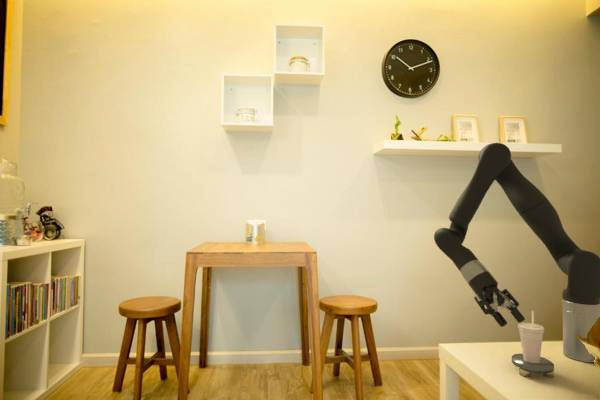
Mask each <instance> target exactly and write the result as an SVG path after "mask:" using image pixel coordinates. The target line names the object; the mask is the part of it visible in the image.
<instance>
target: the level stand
mask: <svg viewBox="0 0 600 400" xmlns="http://www.w3.org/2000/svg"><path fill="white" fill-rule="evenodd" d="M511 363H512V364H513V365H514V366H515V367H517V368H519V369H518V371H519V373H518V374H519V375H520V376H521V377H524V378H531V373H535V374H542V376H543V377H545V378H549V379H554V378H555V364H554V362H553V361H551V360H549V359H547V358H545V357H542V356H540V361H539V363H530V362H527V361H525V360H524V358H523V353H515V354H513V355H511Z"/></svg>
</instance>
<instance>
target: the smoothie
mask: <svg viewBox="0 0 600 400" xmlns="http://www.w3.org/2000/svg"><path fill="white" fill-rule="evenodd" d="M517 329H518V331H519V337H520V343H521V349H522V354H523V358H524V360H525V361H527V362H530V363H539V361H540V357H541V351H542V343H543V337H544V336H543V335H544V333H545V327H544V326H542V325H541V324H540V325H539V324H538V323H535V311H534V310H531V322H521V323H519V322H517Z"/></svg>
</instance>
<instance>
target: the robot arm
mask: <svg viewBox="0 0 600 400" xmlns="http://www.w3.org/2000/svg"><path fill="white" fill-rule="evenodd" d="M494 182H496V183H498V185H499V186H500V188H502V190H503V192H504V194H505V195H506V197H507V199H508V200H509V202H510V203H511V205H512V206H513V208H514V209H515V210H516V212H517V214H518V215H519V216H520V217H521V218H522V220H523V221H524V222H525V224H526V225H527V226H528V227H529V228H530V230H532V232H533V233H534V234H535V235H536V237H537V238H538V239H539V240H540V241H541V242H542V243H543V245H545V248H546V249H547V250H548V252H549V254H550V255H551V256H552V259H553V260H554V262H555V263H556V265H557V267H559V270H560V271H561V272H562V273H564V274H565V275H566V276H567V286H566V288H564V289H563V290H562V291H561V293H562V295H561V298H562V305H561V306H562V354H563V355H564V356H565V357H568V358H569V359H573V360H576V361H578V362H583V363H591V362H592V363H593V361H594V360H595V357H594V356H593V355H592V354H590V353H589V352H588V350H587V349H586V347H585V345H584V344H583V343H582V342H581V341H580V340H579V339H578V338H577V335H579V336H581V337H582V338H585V339H586V338H587V334H588V332H589V331H590V329H591V328H592V326H593V325H594V324H595V322H596V321H597V319H598V318H599V317H600V256H599V255H597V254H596V253H594V252H592V251H588V250H584V249H581V248H580V247H579V246H578V244H577V243H575V242H574V241H573V240H572V239H571V237H570V236H569V235H568V234H567V232H566V230H565V229H564V227H563V224H562V221H561V219H560V216H559V214H558V211H557V210H556V208H555V207H554V205H553V204H552V203H551V201H550V200H549V199H548V197H546V195H545V194H544V193H543V192H542V191H541V190H540V189H539V188H538V187H537V186H536V185H535V184H533V183H532V182H531V181H530V180H529V179H527V177H525V175H524V174H522V172H521V171H520V169H518V167H517V166H516V164H515V163H514V162H513V160H512V151H511V150H510V147H508V146H507V145H506V144H504V143H501V142H492V143H489V144H486V145H485V146H484V147H482V148H481V150H480V151H479V154H478V162H477V166H476V168H475V171H474V173H473V175H472V177H471V179H470V181H469V182H468V184H467V185H466V187H465V189H464V190H463V191H462V192H461V194H460V195H459V198H458V199H457V201H456V202H455V204H454V206H453V208H452V210H451V212H450V213H449V215H448V218H449V219H448V220H449V221H450V222H451V223H450V225H449V228H447V227H440V228H438V229H436V231H435V232H434V234H433V239H434V243H435V245H436V246H437V247H438V249H439V250H440V251H441V252H442V253H444V255H446V257H447V258H449V259H450V260H451V261H452V263H453V264H454V265H455V267H456V268H457V269H458V271H459V272H460V274H461V276H462V277H463V279H464V280H465V282H466V283H467V285H468V286H469V287H470V289H472V291H473V292H474V294H475V296H474V297H473V299H474V300H475V302H476V304H477V305H478V306H479V307H480V309H481V311H482V312H483V313H484V315H485V316H486V315H490V317H493V318H494V320H495V322H497V324H498V325H499V327H501V328H503V327H505V326H506V325H508V321H507V320H506V319H505V317H504V316H503V315H502V314H501V313H500V311H499V310H498V307H500V308H501V309H506V310H508V311H509V312H510V314H511V316H513V318H514V319H515V321H516V322H517V323H524V321H525V320H526V318H525V316H524V315H523V314H522V313H521V311H520V310H519V309H518V307H519V306H520V302H519V301H517V299H516V298H515V297H514V296H513V294H512V293H510V291H509V290H508V289H507V288H504V289H503V290H500V289H499V288H498V281H497V279H496V278H495V277H494V276H493V275H492V273H491V272H490V271H489V270H488V269H487V267H486V266H485V265H484V264H483V263H482V262H481V261H480V260H479V258H477V256H476V255H475V254H474V252H473V251H472V250H471V249H470V248H468V247H466V246H464V245H463V243H464V241H465V239H466V236H467V232H468V231H469V224H470V223H471V222H472V220H473V218H474V217H475V214H476V213H477V212H478V209H479V207H480V206H481V204H482V202H483V200H484V198H485V196H486V194H487V192H488V191H489V189H490V188H491V186H492V185H493V183H494ZM485 307H486V308H485Z"/></svg>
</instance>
